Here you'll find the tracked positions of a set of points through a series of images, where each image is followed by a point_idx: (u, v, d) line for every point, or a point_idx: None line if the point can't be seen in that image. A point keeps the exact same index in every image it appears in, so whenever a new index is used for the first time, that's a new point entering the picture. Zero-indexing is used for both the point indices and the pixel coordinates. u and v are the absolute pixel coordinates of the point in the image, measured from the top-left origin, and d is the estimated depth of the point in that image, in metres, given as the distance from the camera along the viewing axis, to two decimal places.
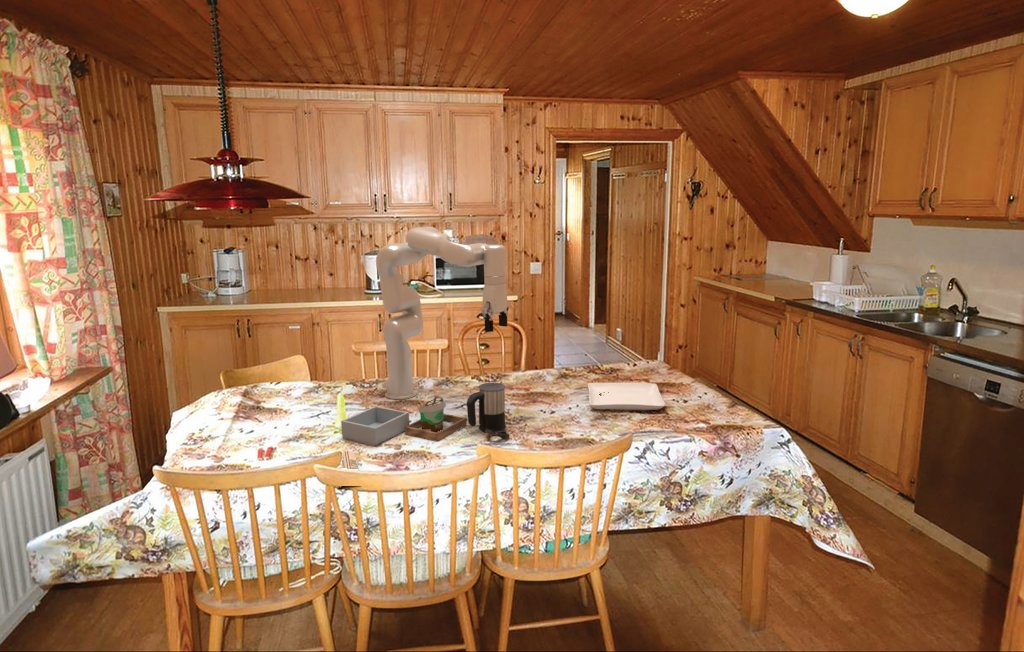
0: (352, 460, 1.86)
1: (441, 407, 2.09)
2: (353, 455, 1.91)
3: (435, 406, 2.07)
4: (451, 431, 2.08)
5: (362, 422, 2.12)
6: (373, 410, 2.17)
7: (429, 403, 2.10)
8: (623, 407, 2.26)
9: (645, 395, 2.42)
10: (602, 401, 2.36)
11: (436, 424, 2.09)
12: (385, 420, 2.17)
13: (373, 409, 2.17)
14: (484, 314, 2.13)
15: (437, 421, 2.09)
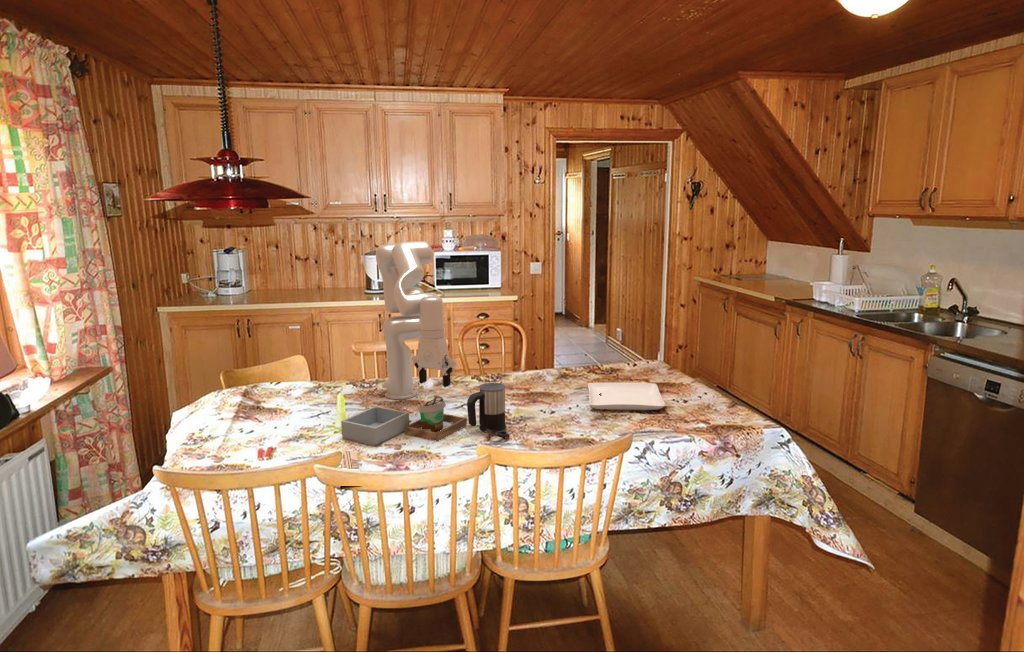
0: (354, 460, 1.87)
1: (441, 407, 2.09)
2: (355, 455, 1.91)
3: (435, 406, 2.07)
4: (451, 431, 2.08)
5: (362, 422, 2.12)
6: (373, 410, 2.17)
7: (429, 403, 2.10)
8: (623, 407, 2.26)
9: (645, 395, 2.42)
10: (602, 401, 2.36)
11: (436, 424, 2.09)
12: (385, 420, 2.17)
13: (373, 409, 2.17)
14: (453, 367, 2.04)
15: (437, 421, 2.09)
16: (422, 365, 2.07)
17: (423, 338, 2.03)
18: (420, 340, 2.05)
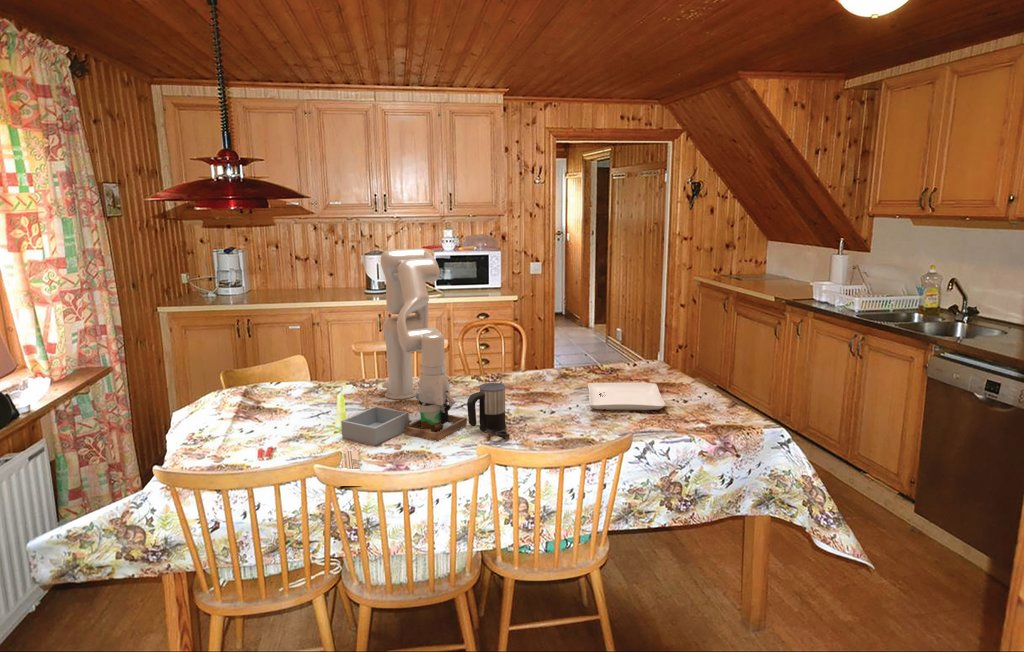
0: (355, 460, 1.87)
1: None
2: (356, 455, 1.91)
3: (435, 406, 2.07)
4: (451, 431, 2.08)
5: (362, 422, 2.12)
6: (373, 410, 2.17)
7: None
8: (623, 407, 2.26)
9: (645, 395, 2.42)
10: (602, 401, 2.36)
11: (436, 424, 2.09)
12: (385, 420, 2.17)
13: (373, 409, 2.17)
14: (451, 406, 2.07)
15: (437, 421, 2.09)
16: (423, 400, 2.09)
17: (424, 374, 2.06)
18: (421, 376, 2.08)
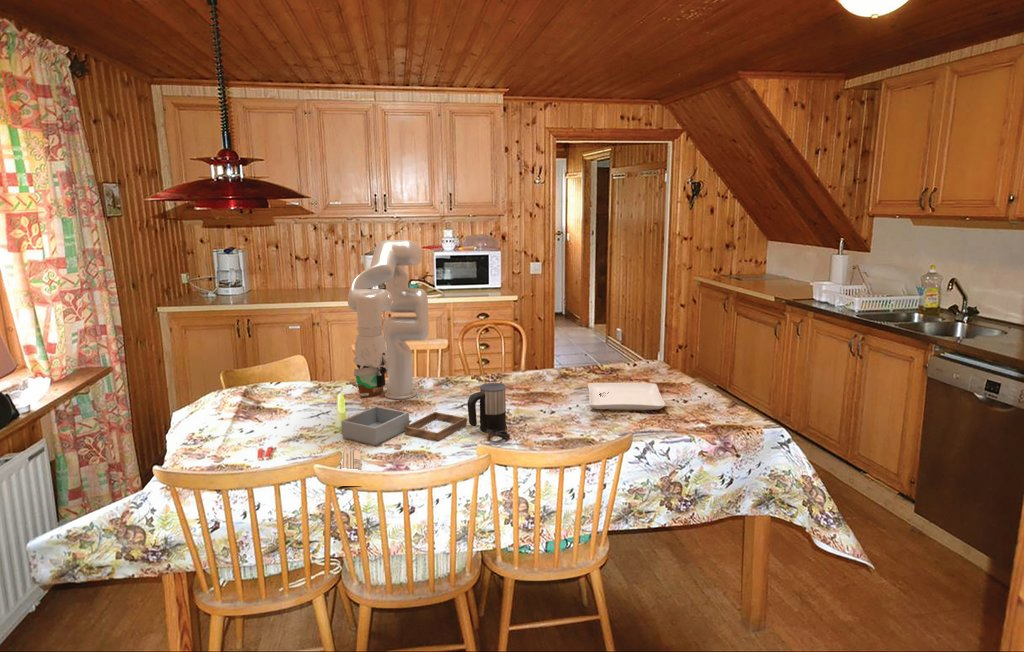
0: (356, 459, 1.87)
1: None
2: (358, 454, 1.91)
3: (370, 368, 2.01)
4: (451, 431, 2.08)
5: (362, 422, 2.12)
6: (373, 410, 2.17)
7: (366, 367, 2.04)
8: (623, 407, 2.26)
9: (645, 395, 2.42)
10: (602, 401, 2.36)
11: (374, 388, 2.03)
12: (385, 420, 2.17)
13: (373, 409, 2.17)
14: (388, 369, 2.02)
15: (375, 384, 2.03)
16: (359, 363, 2.03)
17: (360, 336, 2.00)
18: (357, 338, 2.02)
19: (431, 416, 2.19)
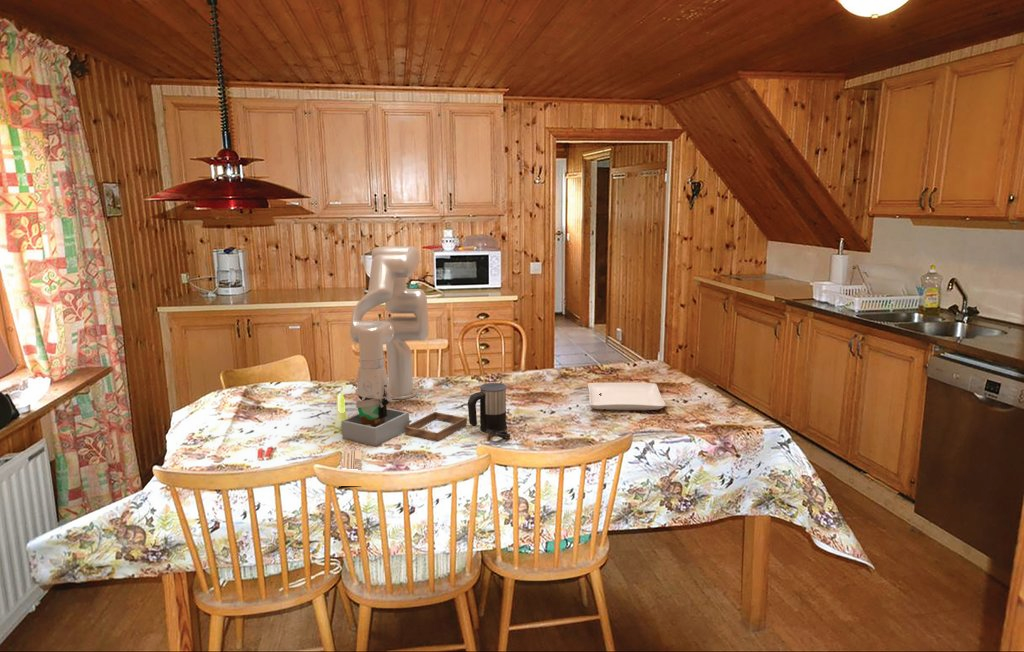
0: (357, 459, 1.87)
1: None
2: (359, 454, 1.91)
3: (372, 400, 2.03)
4: (451, 431, 2.08)
5: None
6: None
7: (368, 398, 2.06)
8: (623, 407, 2.26)
9: (645, 395, 2.42)
10: (602, 401, 2.36)
11: (376, 419, 2.05)
12: (385, 420, 2.17)
13: None
14: (389, 400, 2.04)
15: (377, 416, 2.05)
16: (361, 395, 2.06)
17: (362, 368, 2.02)
18: (360, 370, 2.04)
19: (431, 416, 2.19)
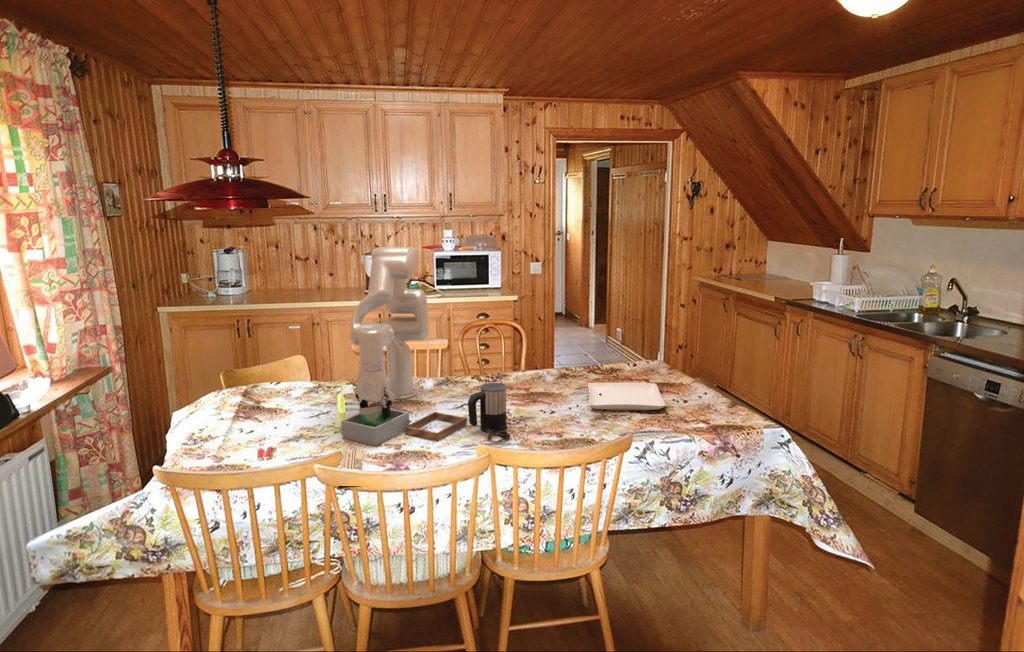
0: (358, 459, 1.87)
1: None
2: (360, 454, 1.91)
3: (375, 407, 2.03)
4: (451, 431, 2.08)
5: (362, 422, 2.12)
6: None
7: (372, 405, 2.07)
8: (623, 407, 2.26)
9: (645, 395, 2.42)
10: (602, 401, 2.36)
11: None
12: None
13: None
14: (393, 400, 2.03)
15: (380, 423, 2.05)
16: (362, 397, 2.06)
17: (362, 371, 2.02)
18: (360, 372, 2.04)
19: (431, 416, 2.19)
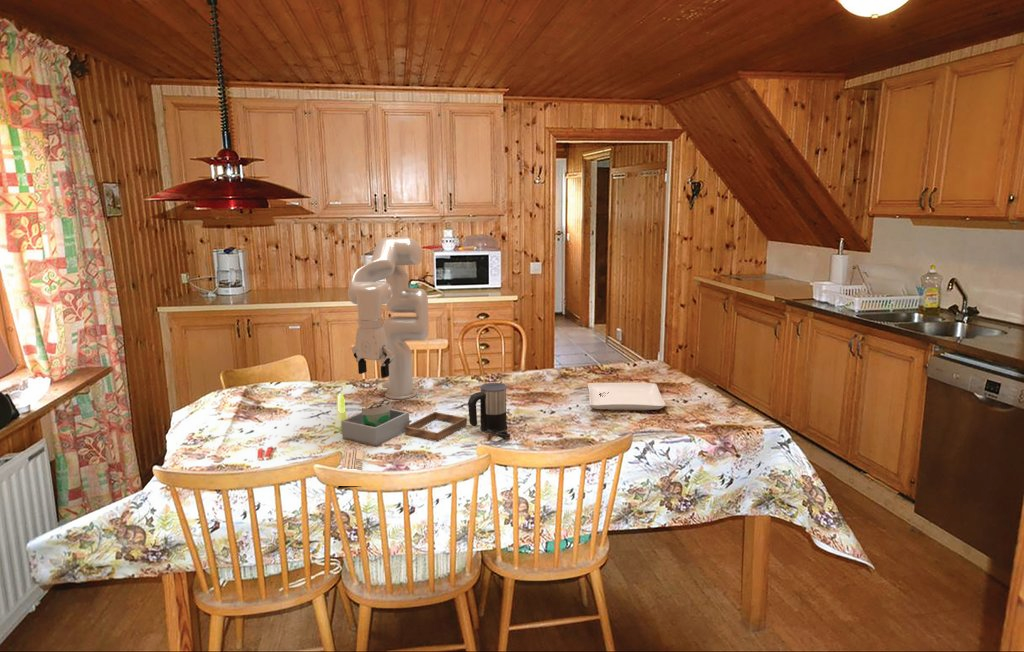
0: (358, 459, 1.87)
1: (385, 410, 2.04)
2: (361, 454, 1.91)
3: (378, 409, 2.03)
4: (451, 431, 2.08)
5: (362, 422, 2.12)
6: None
7: (374, 406, 2.07)
8: (623, 407, 2.26)
9: (645, 395, 2.42)
10: (602, 401, 2.36)
11: None
12: None
13: None
14: (391, 358, 2.00)
15: None
16: (360, 356, 2.03)
17: (360, 328, 2.00)
18: (358, 330, 2.02)
19: (431, 416, 2.19)
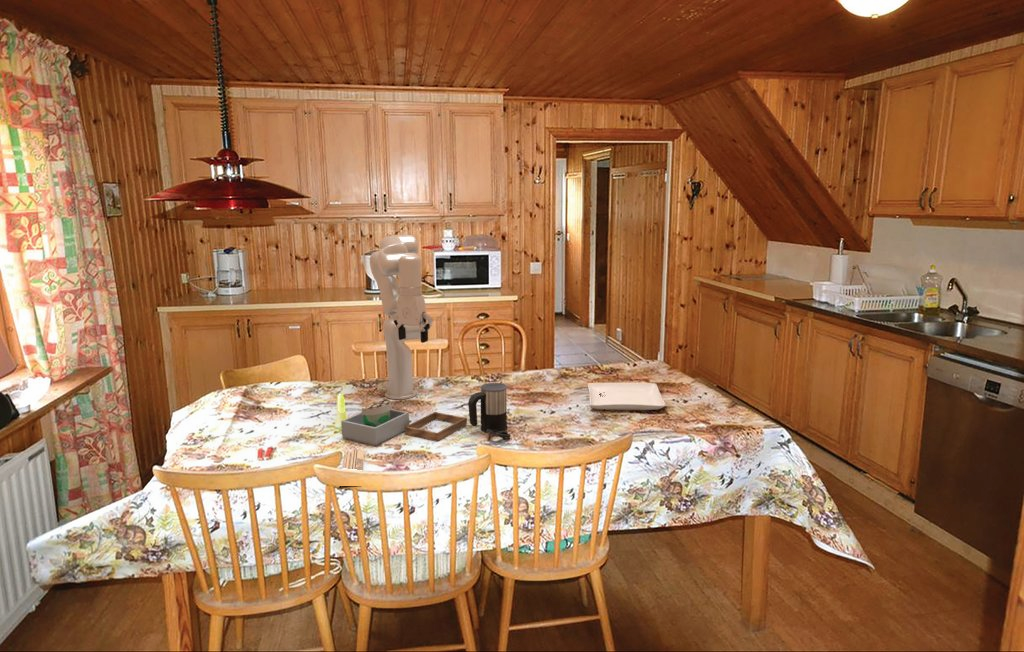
0: (359, 459, 1.87)
1: (385, 410, 2.04)
2: (362, 454, 1.91)
3: (378, 409, 2.03)
4: (451, 431, 2.08)
5: (362, 422, 2.12)
6: None
7: (374, 406, 2.07)
8: (623, 407, 2.26)
9: (645, 395, 2.42)
10: (602, 401, 2.36)
11: None
12: None
13: None
14: (431, 324, 2.13)
15: None
16: (400, 322, 2.16)
17: (402, 295, 2.12)
18: (399, 298, 2.14)
19: (431, 416, 2.19)
